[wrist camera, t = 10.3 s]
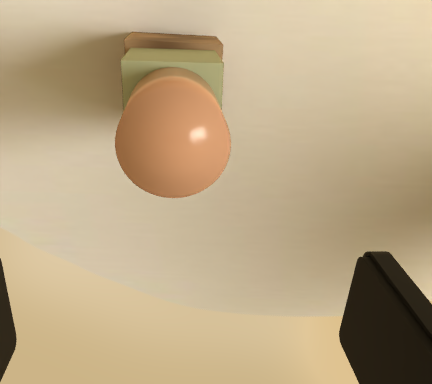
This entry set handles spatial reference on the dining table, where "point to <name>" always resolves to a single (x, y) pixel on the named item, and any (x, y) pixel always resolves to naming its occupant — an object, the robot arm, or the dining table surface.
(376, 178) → the dining table surface
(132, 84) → the sage cube
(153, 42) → the walnut base block
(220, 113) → the tan rounded knob
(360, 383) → the robot arm
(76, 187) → the dining table surface
